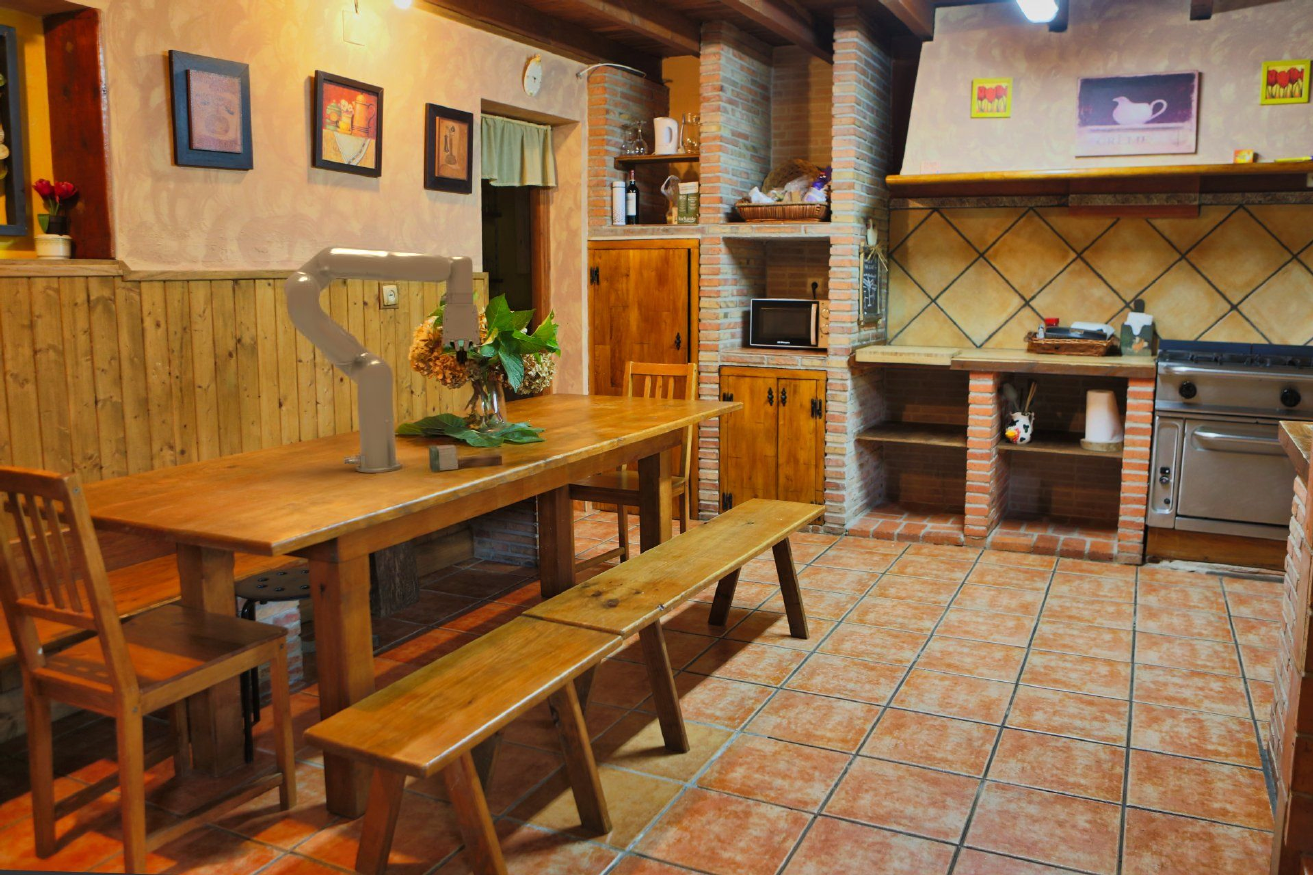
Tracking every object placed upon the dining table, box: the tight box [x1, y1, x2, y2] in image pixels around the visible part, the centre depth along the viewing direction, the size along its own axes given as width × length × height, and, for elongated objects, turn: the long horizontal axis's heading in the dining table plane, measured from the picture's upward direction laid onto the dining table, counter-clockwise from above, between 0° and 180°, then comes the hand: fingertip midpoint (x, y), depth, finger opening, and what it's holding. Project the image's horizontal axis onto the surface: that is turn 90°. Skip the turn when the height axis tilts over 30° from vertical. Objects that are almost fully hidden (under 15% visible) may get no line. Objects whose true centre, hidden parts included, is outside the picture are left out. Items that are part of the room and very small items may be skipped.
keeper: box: [434, 444, 459, 471], centre depth 290 cm, size 5×7×6 cm
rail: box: [428, 445, 503, 473], centre depth 292 cm, size 20×8×6 cm, turn 110°
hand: (461, 364), depth 298 cm, fingers closed
